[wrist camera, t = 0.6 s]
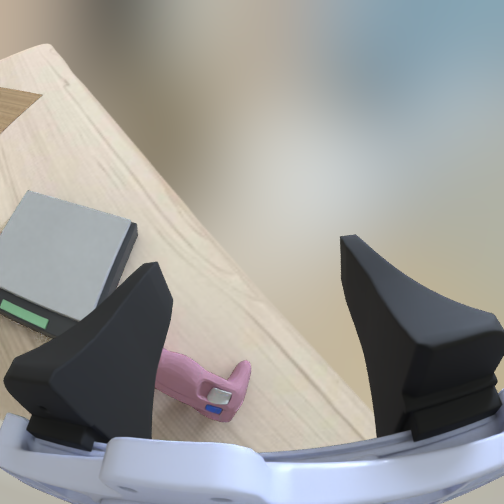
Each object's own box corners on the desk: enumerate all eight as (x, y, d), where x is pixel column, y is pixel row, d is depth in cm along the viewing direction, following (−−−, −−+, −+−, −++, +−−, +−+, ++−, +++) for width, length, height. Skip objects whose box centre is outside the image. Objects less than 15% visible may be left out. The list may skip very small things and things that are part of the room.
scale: (93, 354, 23) (86, 347, 21) (-21, 303, 21) (-33, 291, 19) (138, 235, 29) (136, 219, 27) (31, 203, 28) (25, 187, 26)
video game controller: (128, 352, 25) (95, 371, 18) (149, 306, 26) (121, 312, 19) (231, 407, 25) (230, 442, 18) (256, 362, 26) (262, 386, 19)
